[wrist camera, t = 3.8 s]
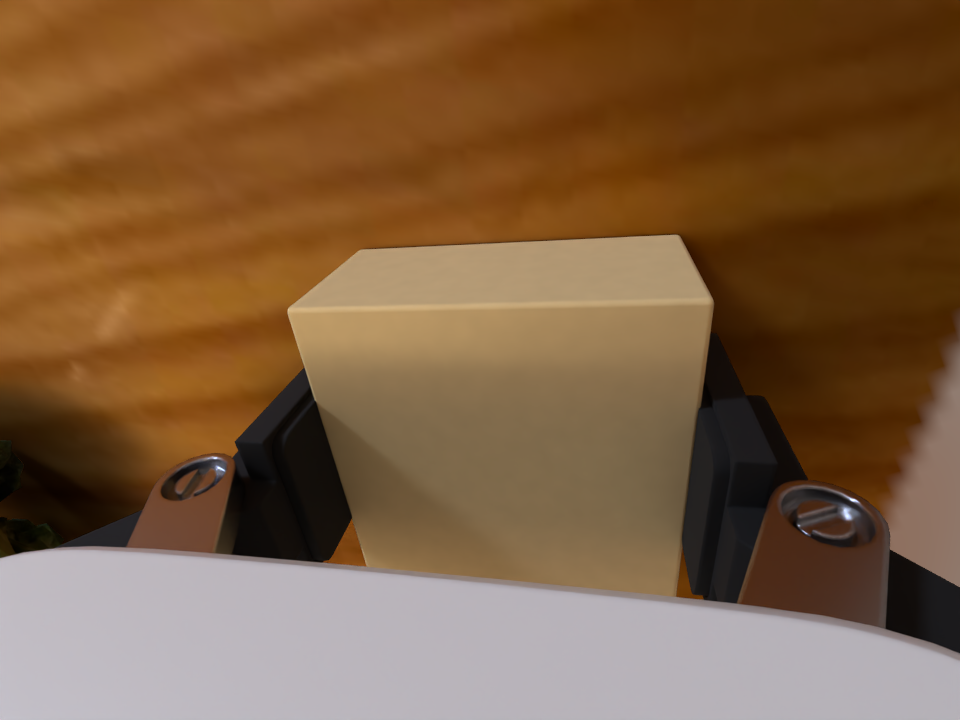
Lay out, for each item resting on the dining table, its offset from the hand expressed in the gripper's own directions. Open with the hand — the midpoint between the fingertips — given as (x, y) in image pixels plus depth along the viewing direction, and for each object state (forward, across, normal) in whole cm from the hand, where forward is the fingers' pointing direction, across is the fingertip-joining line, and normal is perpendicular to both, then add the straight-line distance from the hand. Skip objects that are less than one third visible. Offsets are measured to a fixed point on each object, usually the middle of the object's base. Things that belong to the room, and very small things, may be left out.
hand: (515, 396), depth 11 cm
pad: (+1, 0, 0) cm, 1 cm away
